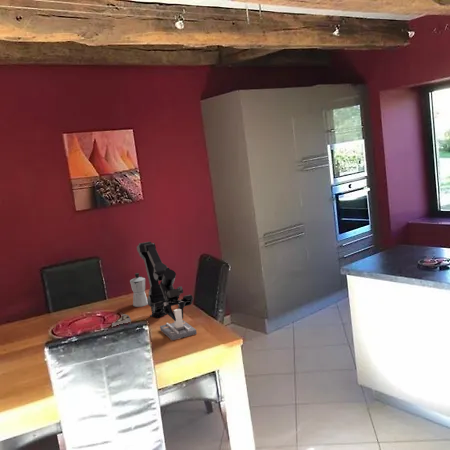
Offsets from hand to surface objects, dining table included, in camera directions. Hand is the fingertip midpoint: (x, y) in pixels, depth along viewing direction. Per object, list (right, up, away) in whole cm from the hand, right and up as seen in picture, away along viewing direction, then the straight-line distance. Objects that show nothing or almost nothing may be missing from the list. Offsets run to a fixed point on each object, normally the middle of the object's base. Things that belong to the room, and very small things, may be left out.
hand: (179, 319), depth 230 cm
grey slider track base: (-1, -7, +4) cm, 8 cm away
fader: (0, -5, +2) cm, 5 cm away
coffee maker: (-26, -1, +53) cm, 59 cm away
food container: (-25, -9, +2) cm, 26 cm away
